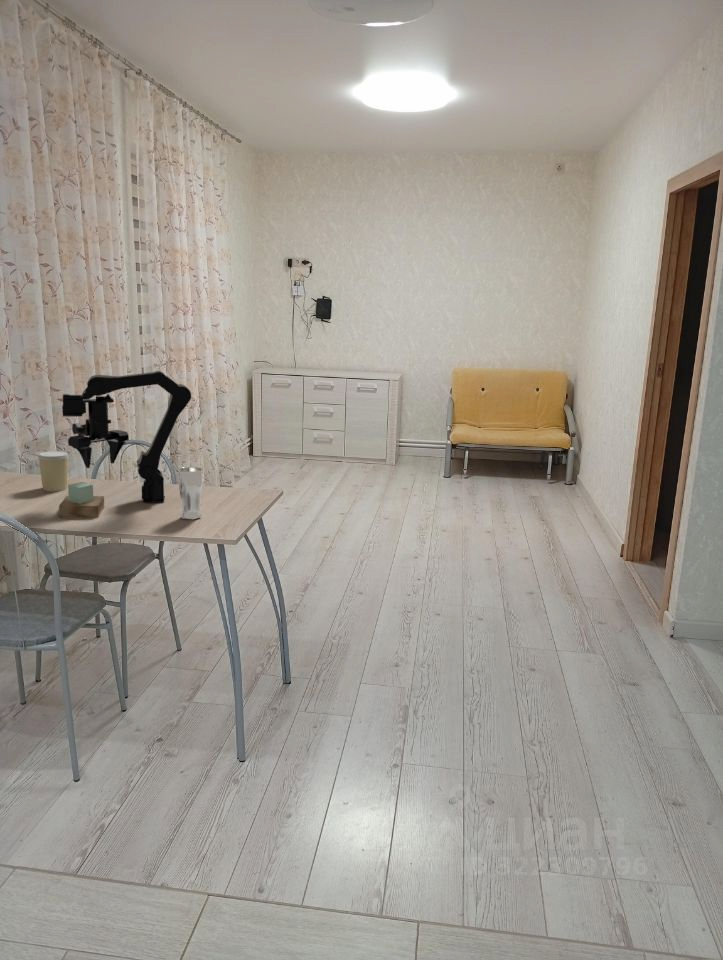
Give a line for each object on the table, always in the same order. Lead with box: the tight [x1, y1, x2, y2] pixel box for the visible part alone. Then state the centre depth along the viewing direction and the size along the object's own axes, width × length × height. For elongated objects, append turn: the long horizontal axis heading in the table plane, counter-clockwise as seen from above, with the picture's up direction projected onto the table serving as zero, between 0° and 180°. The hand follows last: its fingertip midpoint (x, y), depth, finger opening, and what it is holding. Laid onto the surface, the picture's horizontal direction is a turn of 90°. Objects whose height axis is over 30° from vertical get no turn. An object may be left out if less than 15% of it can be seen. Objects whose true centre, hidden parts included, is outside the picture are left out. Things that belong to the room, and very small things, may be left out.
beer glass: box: [178, 466, 204, 520], centre depth 226 cm, size 7×7×15 cm
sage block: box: [67, 481, 94, 504], centre depth 227 cm, size 5×5×5 cm
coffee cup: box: [37, 450, 70, 492], centre depth 251 cm, size 9×9×12 cm
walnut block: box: [58, 495, 105, 518], centre depth 228 cm, size 11×11×4 cm
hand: (100, 465), depth 236 cm, fingers open, 9 cm apart
